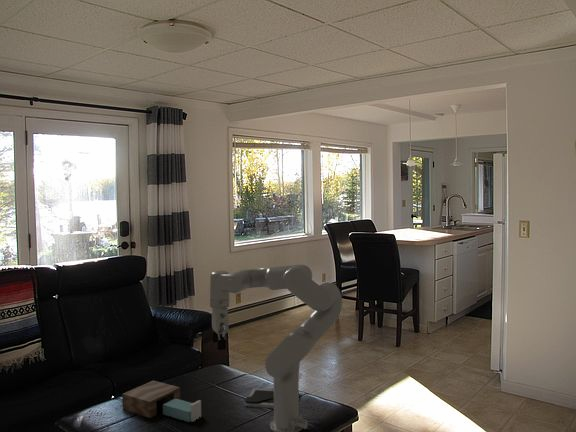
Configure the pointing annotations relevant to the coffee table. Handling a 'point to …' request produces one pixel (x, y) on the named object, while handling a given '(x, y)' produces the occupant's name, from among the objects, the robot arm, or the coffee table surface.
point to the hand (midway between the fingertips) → (218, 345)
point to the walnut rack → (149, 397)
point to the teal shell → (182, 410)
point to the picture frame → (260, 398)
